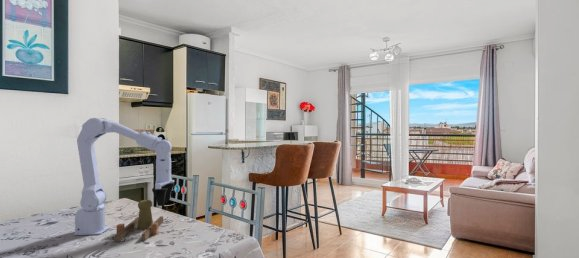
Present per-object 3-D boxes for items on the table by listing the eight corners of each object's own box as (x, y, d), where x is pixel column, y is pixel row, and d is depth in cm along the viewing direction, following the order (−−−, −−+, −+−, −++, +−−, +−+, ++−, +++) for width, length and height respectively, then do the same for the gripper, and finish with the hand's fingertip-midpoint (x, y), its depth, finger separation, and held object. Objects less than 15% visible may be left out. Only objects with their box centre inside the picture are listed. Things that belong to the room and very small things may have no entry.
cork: (147, 230, 123) (146, 202, 123) (133, 229, 124) (133, 201, 124) (156, 225, 129) (156, 198, 129) (143, 224, 130) (143, 198, 130)
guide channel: (108, 242, 111) (108, 231, 111) (132, 223, 132) (132, 213, 132) (151, 240, 112) (150, 229, 112) (168, 222, 133) (168, 212, 133)
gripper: (168, 172, 120) (168, 207, 121) (178, 167, 135) (178, 198, 135) (149, 172, 120) (149, 208, 120) (161, 167, 134) (161, 198, 134)
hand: (163, 203), depth 127 cm, fingers open, 7 cm apart
